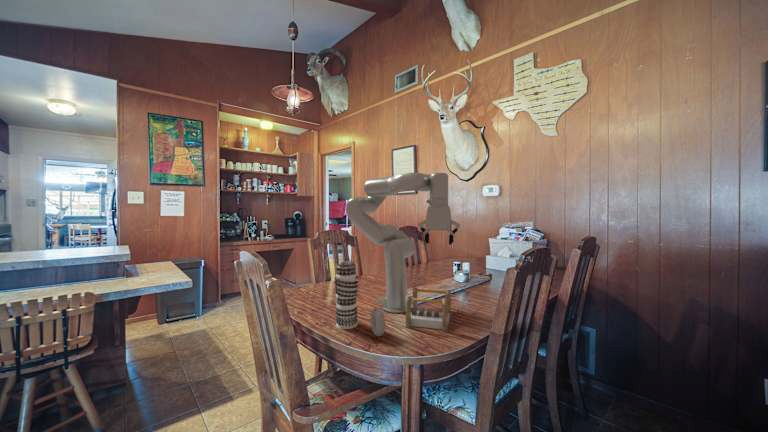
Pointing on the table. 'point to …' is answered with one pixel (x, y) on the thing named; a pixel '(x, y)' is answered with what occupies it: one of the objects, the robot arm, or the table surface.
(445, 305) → the cord posts
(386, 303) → the robot arm
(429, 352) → the table surface
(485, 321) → the table surface
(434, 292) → the cord rear
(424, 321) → the breaker panel
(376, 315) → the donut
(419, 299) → the cord front
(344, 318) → the decorative candle
